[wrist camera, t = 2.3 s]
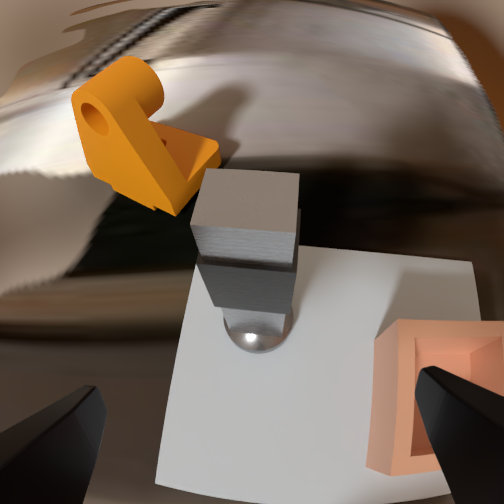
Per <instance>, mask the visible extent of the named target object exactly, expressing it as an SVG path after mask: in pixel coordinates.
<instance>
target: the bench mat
mask: <svg viewBox="0 0 504 504" xmlns="http://www.w3.org/2000/svg"><path fill="white" fill-rule="evenodd" d="M291 306H292V309H293V325H292V329H291V332H290V335H289V337H288V338H287V340H286V341H285V342H284V343H283V344H282V345H281V346H280V347H278V348H277V349H275V350H273V351H271V352H268V353H262V354H254V353H249V352H246V351H244V350H242V349H240V348H239V347H237V346H236V345H235V344H234V343H233V342H232V341H231V339H230V338H229V336H228V334H227V331H226V329H225V326H224V321H223V312H222V309H221V307H214V305H213V302H212V300H211V298H210V295H209V293H208V291H207V288H206V286H205V284H204V281H203V279H202V277H201V274H200V272H199V269H198V267H197V265H196V267H195V271H194V275H193V280H192V284H191V289H190V293H189V298H188V302H187V307H186V312H185V316H184V321H183V326H182V331H181V336H180V341H179V346H178V351H177V356H176V361H175V366H174V371H173V377H172V382H171V387H170V393H169V398H168V404H167V410H166V416H165V422H164V428H163V434H162V440H161V446H160V453H159V460H158V466H157V473H156V480H155V483H156V484H159V485H163V486H167V487H171V488H175V489H179V490H184V491H188V492H193V493H197V494H202V495H208V496H213V497H219V498H225V499H231V500H238V501H245V502H254V503H263V504H387V503H396V502H404V501H411V500H418V499H424V498H430V497H435V496H441V495H445V494H450V493H451V491H450V489H449V486H448V484H447V482H446V479H445V477H444V474H443V472H442V470H438V471H432V472H425V473H418V474H409V475H400V476H388V475H385V474H382V473H380V472H377V471H374V470H372V469H369V468H367V467H365V466H366V458H367V449H368V440H369V429H370V418H371V404H372V387H373V361H374V340H375V339H376V338H377V337H378V336H380V335H381V334H382V333H383V332H384V331H385V330H386V329H387V328H388V327H389V326H391V325H392V324H393V323H394V322H395V321H396V320H397V319H413V320H446V321H481V317H480V309H479V302H478V295H477V288H476V282H475V276H474V271H473V266H472V262H467V261H457V260H447V259H437V258H427V257H417V256H406V255H396V254H385V253H374V252H364V251H353V250H342V249H331V248H320V247H308V246H299V250H298V264H297V275H296V281H295V287H294V293H293V299H292V305H291Z"/></svg>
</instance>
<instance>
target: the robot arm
mask: <svg viewBox="0 0 504 504" xmlns="http://www.w3.org/2000/svg"><path fill="white" fill-rule="evenodd" d="M415 399H416V402H417V405H418V408H419V411H420V414H421V417H422V421H423V424H424V427H425V430H426V433H427V436H428V439H429V442H430V444H431V446H432V449H433V451H434V453H435V455H436V458H437V460H438V462H439V465H440V467H441V469H442V472H443V474H444V477H445V479H446V482H447V484H448V486H449V489H450V491H451V494H452V496H453V499H454V502H455V504H504V396H501V395H499V394H497V393H495V392H492V391H490V390H488V389H486V388H483V387H481V386H479V385H477V384H474V383H472V382H470V381H468V380H465V379H463V378H461V377H459V376H457V375H454V374H452V373H450V372H448V371H446V370H443V369H441V368H439V367H437V366H434V365H433V366H428V367H423V368H422V369H421V370H420V372H419V375H418V379H417V384H416V387H415ZM106 418H107V408H106V405H105V403H104V400H103V398H102V395H101V392H100V390H99V389H98V387H96V386H89V385H84V386H82V387H80V388H79V389H77V390H75V391H74V392H72V393H70V394H68V395H67V396H65V397H63V398H61V399H60V400H58V401H56V402H54V403H53V404H51V405H49V406H47V407H46V408H44V409H42V410H40V411H39V412H37V413H35V414H33V415H31V416H30V417H28V418H26V419H24V420H22V421H21V422H19V423H17V424H15V425H13V426H12V427H10V428H8V429H6V430H4V431H3V432H1V433H0V504H83V501H84V498H85V495H86V491H87V488H88V485H89V482H90V479H91V476H92V473H93V470H94V467H95V464H96V460H97V457H98V453H99V449H100V444H101V440H102V435H103V431H104V426H105V422H106Z"/></svg>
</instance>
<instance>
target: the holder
mask: <svg viewBox="0 0 504 504" xmlns="http://www.w3.org/2000/svg"><path fill="white" fill-rule="evenodd" d="M433 365H434V366H437V367H439V368H441V369H443V370H446V371H448V372H450V373H452V374H454V375H457V376H459V377H461V378H463V379H465V380H468V381H470V382H472V383H474V384H477V385H479V386H481V387H483V388H486V389H488V390H490V391H492V392H495V393H497V394H499V395H501V396H504V321H446V320H413V319H397V320H396V321H395V322H394V323H393V324H392V325H391V326H389V327H388V328H387V329H386V330H385V331H384V332H383V333H382V334H381V335H380V336H378V337H377V338H376V339H375V340H374V361H373V387H372V404H371V418H370V429H369V440H368V449H367V458H366V466H365V467H367V468H369V469H372V470H374V471H377V472H380V473H382V474H385V475H388V476H400V475H409V474H418V473H425V472H432V471H438V470H442V469H441V467H440V465H439V462H438V460H437V458H436V455H435V453H434V451H433V449H432V446H431V444H430V442H429V439H428V436H427V433H426V430H425V427H424V424H423V421H422V417H421V414H420V411H419V408H418V405H417V402H416V399H415V387H416V384H417V379H418V375H419V372H420V370H421V369H422V368H423V367H428V366H433Z"/></svg>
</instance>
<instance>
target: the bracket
mask: <svg viewBox="0 0 504 504" xmlns="http://www.w3.org/2000/svg"><path fill="white" fill-rule="evenodd" d="M71 102H72V107H73V111H74V116H75V120H76V124H77V128H78V132H79V136H80V139H81V143H82V147H83V150H84V154H85V158H86V161H87V164H88V166H89V168H90V169H91V171H92V173H93V175H94V176H95V177H96V178H98V179H100V180H103V181H104V182H107V183H109V184H111V186H112V188H113V190H114V191H117V192H119V193H121V194H123V195H125V196H127V197H129V198H131V199H133V200H135V201H137V202H139V203H141V204H143V205H145V206H147V207H149V208H151V209H153V210H156V209H157V208H160V209H162V210H164V211H166V212H168V213H170V214H172V215H174V216H177V214H178V213H179V212H180V211H181V210H182V208H183V207H184V206H185V205H186V204H187V202H188V201H189V200H190V199H191V198H192V197H193V195H194V194H195V193H196V192H197V191H198V190H199V188H200V187H201V184H202V181H203V178H204V174H205V171H206V168H211V169H217V168H218V167H219V166H220V164H221V157H220V151H219V145H218V143H217V142H216V141H215V140H212V139H209V138H206V137H203V136H199V135H196V134H193V133H190V132H187V131H183V130H180V129H177V128H173V127H170V126H167V125H163V124H160V123H156V122H153V121H149V120H148V118H149V117H150V116H152V115H153V114H154V113H155V112H156V111H157V110H159V109H160V108H161V107H162V105H163V102H164V91H163V87H162V84H161V82H160V80H159V78H158V76H157V75H156V73H155V72H154V71H153V69H152V68H151V67H150V66H149V65H148V64H147V63H145V62H144V61H142V60H141V59H139V58H137V57H133V56H125V57H122V58H120V59H119V60H117V61H116V62H114V63H113V64H111V65H110V66H108V67H107V68H106V69H104V70H103V71H101V72H100V73H98V74H97V75H96V76H94V77H93V78H92V79H90V80H89V81H88V82H86V83H85V84H84V85H82V86H81V87H80V88H78V89H77V90H76V91H74V92H73V94H72V97H71Z"/></svg>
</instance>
